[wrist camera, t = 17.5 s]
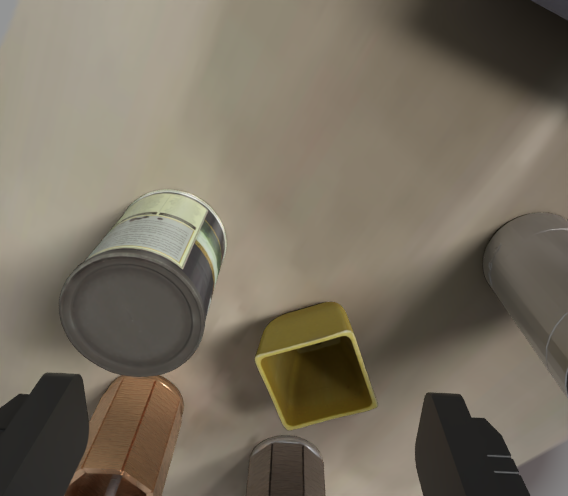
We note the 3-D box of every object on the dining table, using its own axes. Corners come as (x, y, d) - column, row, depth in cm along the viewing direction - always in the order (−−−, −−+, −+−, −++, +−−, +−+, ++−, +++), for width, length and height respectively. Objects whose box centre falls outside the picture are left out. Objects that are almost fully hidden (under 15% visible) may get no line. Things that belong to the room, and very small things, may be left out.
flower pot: (343, 278, 52) (352, 330, 44) (367, 349, 55) (379, 409, 47) (259, 303, 53) (252, 357, 45) (287, 370, 56) (285, 432, 48)
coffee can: (249, 242, 50) (234, 324, 37) (176, 305, 53) (138, 400, 41) (169, 164, 47) (122, 224, 34) (96, 235, 50) (28, 314, 38)
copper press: (182, 373, 57) (152, 470, 45) (185, 451, 62) (159, 557, 50) (102, 369, 57) (51, 465, 45) (111, 447, 62) (67, 553, 50)
